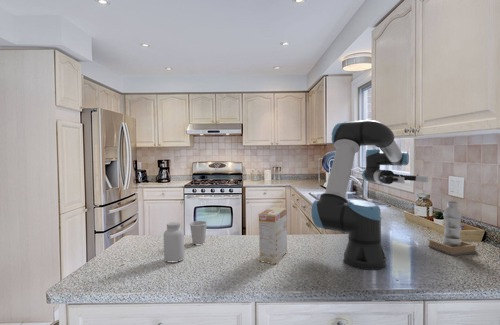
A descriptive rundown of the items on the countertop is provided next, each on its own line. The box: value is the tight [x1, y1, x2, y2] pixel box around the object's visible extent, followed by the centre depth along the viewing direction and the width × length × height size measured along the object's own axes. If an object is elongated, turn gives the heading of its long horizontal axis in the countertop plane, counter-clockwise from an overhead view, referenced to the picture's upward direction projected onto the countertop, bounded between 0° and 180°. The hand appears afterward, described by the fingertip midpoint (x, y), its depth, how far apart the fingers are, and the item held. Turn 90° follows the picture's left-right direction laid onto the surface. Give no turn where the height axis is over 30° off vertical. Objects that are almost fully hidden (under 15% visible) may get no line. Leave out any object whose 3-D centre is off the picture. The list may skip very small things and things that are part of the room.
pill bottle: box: [163, 221, 185, 261], centre depth 113 cm, size 8×8×15 cm
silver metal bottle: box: [442, 201, 463, 247], centre depth 119 cm, size 6×7×20 cm
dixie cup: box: [189, 220, 208, 245], centre depth 134 cm, size 8×8×10 cm
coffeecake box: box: [258, 206, 288, 265], centre depth 114 cm, size 15×7×20 cm, turn 154°
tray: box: [428, 239, 478, 257], centre depth 119 cm, size 12×12×3 cm
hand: (415, 179), depth 132 cm, fingers open, 13 cm apart
